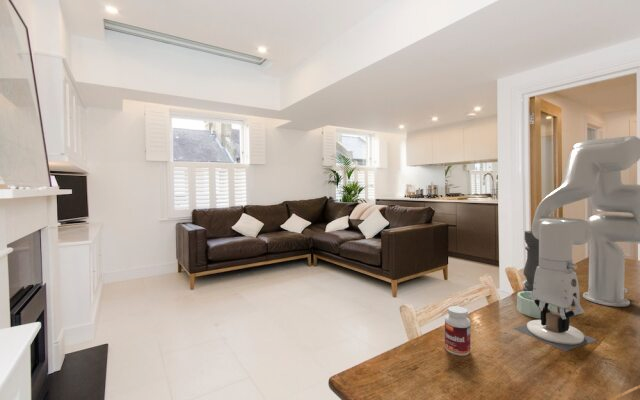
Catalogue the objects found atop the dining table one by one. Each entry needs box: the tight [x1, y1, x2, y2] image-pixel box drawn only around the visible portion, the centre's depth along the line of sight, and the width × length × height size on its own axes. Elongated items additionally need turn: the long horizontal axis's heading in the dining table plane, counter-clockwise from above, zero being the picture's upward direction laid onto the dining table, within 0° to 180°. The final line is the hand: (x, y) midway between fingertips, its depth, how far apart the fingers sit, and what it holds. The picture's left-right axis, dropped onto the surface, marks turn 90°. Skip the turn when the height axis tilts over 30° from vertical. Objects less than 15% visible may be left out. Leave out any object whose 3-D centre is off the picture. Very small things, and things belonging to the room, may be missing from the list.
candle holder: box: [522, 230, 539, 292], centre depth 118 cm, size 6×6×25 cm
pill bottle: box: [444, 305, 471, 357], centre depth 82 cm, size 6×6×11 cm
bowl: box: [516, 290, 559, 320], centre depth 105 cm, size 11×11×6 cm
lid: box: [526, 312, 585, 345], centre depth 89 cm, size 13×13×5 cm
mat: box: [513, 324, 598, 352], centre depth 89 cm, size 14×14×1 cm
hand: (554, 327), depth 89 cm, fingers closed on lid, 4 cm apart
